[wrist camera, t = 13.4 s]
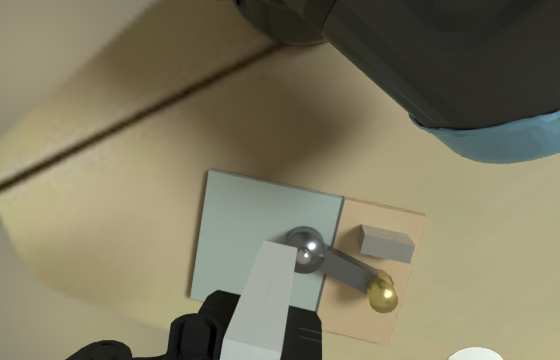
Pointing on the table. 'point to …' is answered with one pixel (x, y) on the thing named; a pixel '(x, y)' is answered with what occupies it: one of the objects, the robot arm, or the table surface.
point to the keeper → (385, 244)
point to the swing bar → (341, 268)
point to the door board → (274, 228)
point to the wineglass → (475, 354)
